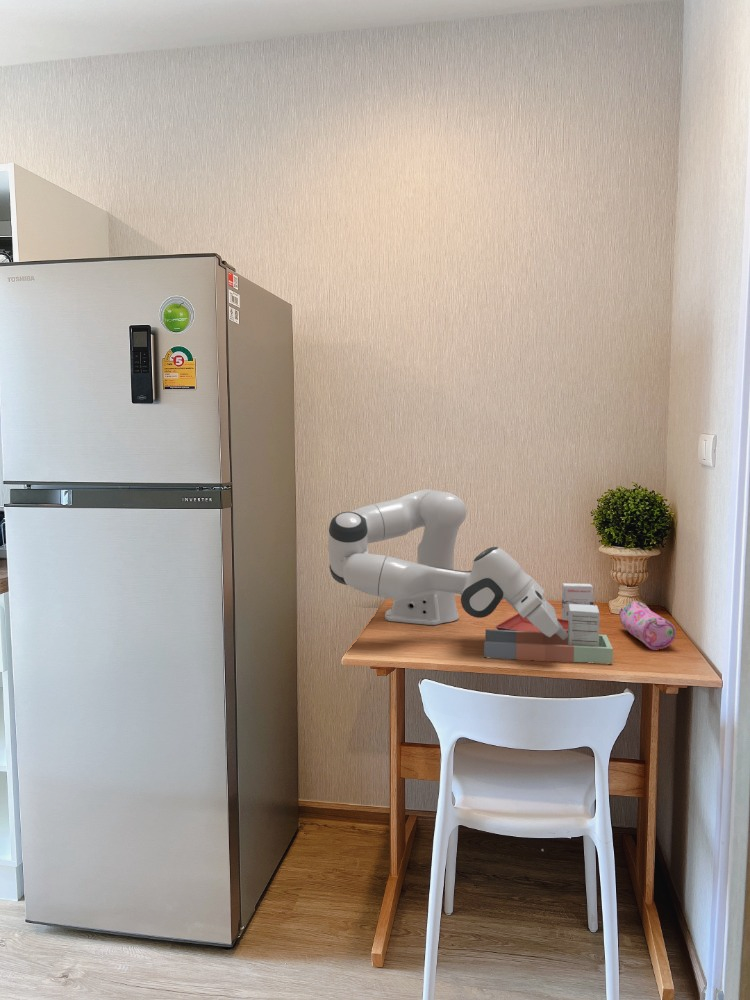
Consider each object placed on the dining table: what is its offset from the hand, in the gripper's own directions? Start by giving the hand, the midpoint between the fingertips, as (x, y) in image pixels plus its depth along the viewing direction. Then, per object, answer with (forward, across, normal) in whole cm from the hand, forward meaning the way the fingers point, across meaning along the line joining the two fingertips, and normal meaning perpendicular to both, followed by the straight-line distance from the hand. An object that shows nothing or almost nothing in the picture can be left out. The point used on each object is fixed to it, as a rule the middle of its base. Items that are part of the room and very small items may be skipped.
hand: (565, 636), depth 190 cm
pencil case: (+20, -18, +12) cm, 29 cm away
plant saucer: (-1, -19, -8) cm, 21 cm away
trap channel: (0, 0, -7) cm, 7 cm away
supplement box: (+7, 0, 0) cm, 7 cm away
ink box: (+8, -32, 0) cm, 33 cm away
